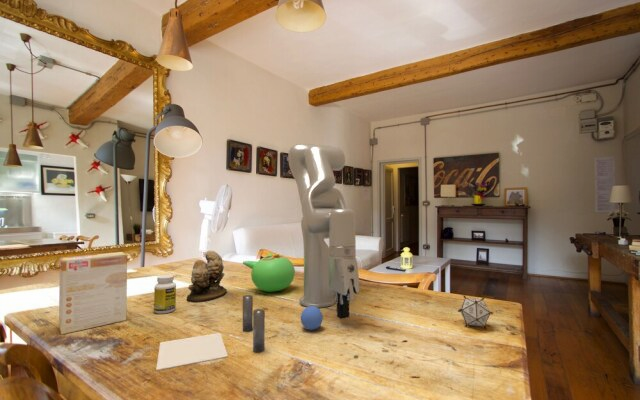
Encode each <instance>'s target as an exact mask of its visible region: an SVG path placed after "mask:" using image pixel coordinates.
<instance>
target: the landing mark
mask: <svg viewBox="0 0 640 400" xmlns="http://www.w3.org/2000/svg"><path fill="white" fill-rule="evenodd" d="M228 357H229V356H228V353H227V349H226V347H225V344H224V340H223V337H222V334H221V332H217V333H212V334H211V333H210V334H205V335H198V336H192V337H187V338H179V339H174V340H173V339H172V340H167V341H160V343H159V349H158V356H157V362H156V363H157V364H156V369H155V370H156V371H161V370H162V371H163V370H167V369H171V368H172V369H173V368H176V367H181V366H187V365H188V366H189V365H192V364H193V365H194V364H199V363H204V362H209V361H213V360H214V361H215V360H219V359H225V358H228Z"/></svg>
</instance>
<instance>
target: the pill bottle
mask: <svg viewBox="0 0 640 400" xmlns="http://www.w3.org/2000/svg"><path fill="white" fill-rule="evenodd" d="M156 279H157V283H156V284H155V285H154V295H153V297H154V298H153V312H154V313H156V314H161V315H163V314H168V313H172V312H174V311H176V308H177V307H176V306H177V304H176V302H177V301H176V298H177V297H176V296H177V284H176V283H175V282H174V279H175V278H174V275H173V274H164V275H159V276H157V277H156Z"/></svg>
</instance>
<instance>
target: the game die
mask: <svg viewBox="0 0 640 400" xmlns="http://www.w3.org/2000/svg"><path fill="white" fill-rule="evenodd" d="M463 298H464V300H463V302H462V305H461V308H458V309H457V312H458V313H460V314H461V317H462V318H463V321H464V322H465V325H464V327H465V328H467V327H468V326H474V327H475V326H476V327H483V328H484V330H487V326H486V325H487V322H488V320H489V318H490V315H492V314H494V312H493V311H490V309H489V308H488V305H486V303H485V301H484V300H485V296H483V297H482V298H471V297H470V298H469V297H467V296H466V295H463Z"/></svg>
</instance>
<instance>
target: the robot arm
mask: <svg viewBox="0 0 640 400" xmlns="http://www.w3.org/2000/svg"><path fill="white" fill-rule="evenodd" d="M345 164H346V155H345V153H344V151H343V150H342V148H340V147H336V146H332V145H325V144H324V145H321V144H310V143H302V144H301V143H300V144H294V145H293V146H291V147H290V148H289V151H288V165H289V169H290V173H291V174H292V176H293V179H294V181H295V182H296V185H297V190H298V195H299V201H300V206H301V213H302V217H301V221H300V228H301V233H302V240H303V241H302V243H303V296H301V297H300V298H299V299H298V300H299V304H300V305H301V306H304V307H306V308H307V307H309V306H315V307H317V308H318V309H320V308H327V307H331V306H333V305H334V304H336V317H337V318H338V319H340V320H342V319H347V318H350V304H351V301H354V300H355V294H356V295H357V294H358V295H359V292H360V279H359V278H360V277H359V275H360V274H359V266H358V260H357V258H356V257H357V255H356V251H357V250H356V246H357V245H356V240H357V239H356V212H355V211H354V210H353V209H351V208H347V206H346V201H345V200H344V195H343V193H342V191H341V190H340V189H338V188H335V185H336V177H335V175H334V171H336V172H337V171H338V172H339V171H341V170H342V169H343V168H345ZM325 239H329V240H328V244H327V242H326V241H325Z"/></svg>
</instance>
